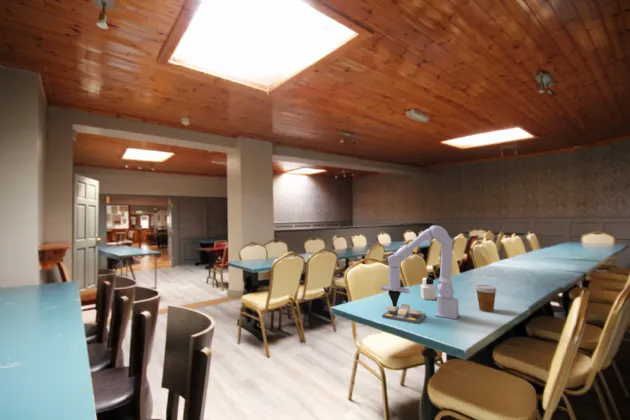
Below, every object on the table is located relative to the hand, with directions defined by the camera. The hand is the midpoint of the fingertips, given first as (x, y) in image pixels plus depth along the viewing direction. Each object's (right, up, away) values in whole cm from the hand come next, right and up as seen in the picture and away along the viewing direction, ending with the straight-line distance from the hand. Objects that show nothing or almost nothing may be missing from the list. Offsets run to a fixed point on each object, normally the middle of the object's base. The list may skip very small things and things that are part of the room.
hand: (394, 305), depth 156 cm
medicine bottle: (+27, -4, +27) cm, 38 cm away
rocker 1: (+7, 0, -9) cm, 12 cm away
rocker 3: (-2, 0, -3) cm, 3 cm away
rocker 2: (+3, 0, -6) cm, 6 cm away
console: (+3, -3, -6) cm, 7 cm away
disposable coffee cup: (+47, -3, +2) cm, 48 cm away
